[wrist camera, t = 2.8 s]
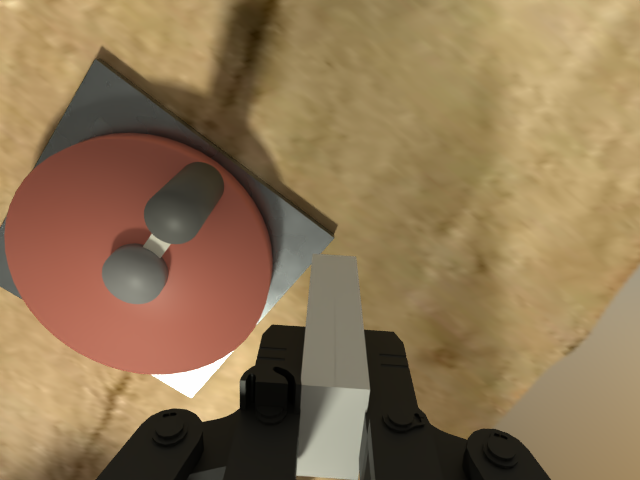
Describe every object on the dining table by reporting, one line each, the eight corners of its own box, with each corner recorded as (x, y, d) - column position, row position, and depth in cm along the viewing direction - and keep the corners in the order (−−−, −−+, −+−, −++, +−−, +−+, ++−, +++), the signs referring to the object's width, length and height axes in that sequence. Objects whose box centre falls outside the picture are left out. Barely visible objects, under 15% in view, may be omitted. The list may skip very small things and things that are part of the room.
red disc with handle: (188, 393, 35) (155, 476, 28) (-18, 273, 31) (-111, 336, 24) (326, 237, 29) (325, 295, 23) (99, 68, 25) (20, 79, 19)
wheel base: (-19, 267, 32) (-25, 271, 31) (100, 58, 26) (95, 58, 26) (193, 392, 36) (191, 398, 35) (334, 234, 30) (334, 238, 30)
